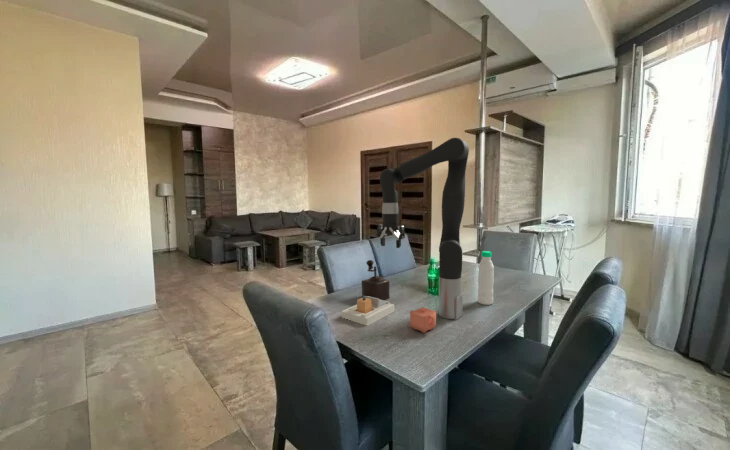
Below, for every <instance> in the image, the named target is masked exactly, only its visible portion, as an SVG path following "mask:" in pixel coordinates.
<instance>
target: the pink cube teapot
mask: <svg viewBox="0 0 730 450" xmlns="http://www.w3.org/2000/svg"><path fill="white" fill-rule="evenodd" d="M409 327H410V328H411V329H413V330H414V331H419V332H421V333H422V334H426V333H427V331H429V330H430V331H432V330H433V328H435V327H437V311H435V310H434V309H433V310H432V309H429V308H426V307H424V306H422V307H420V308H417V309H414V310H410V312H409Z"/></svg>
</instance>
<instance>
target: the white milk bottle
mask: <svg viewBox="0 0 730 450" xmlns="http://www.w3.org/2000/svg"><path fill="white" fill-rule="evenodd" d="M492 255H493V254H492V251H489V250H487V251H486V250H482V251H481V252H480V256H481V260H480V262H479V264H478V265H477V267H478V273H477V303H479V304H480V305H484V306H489V305H492V304H493V303H494V284H495V281H494V279H495V274H494V273H495V272H494V270H495V266H494V263H493V260H491V259H492Z"/></svg>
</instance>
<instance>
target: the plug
mask: <svg viewBox="0 0 730 450" xmlns="http://www.w3.org/2000/svg"><path fill="white" fill-rule="evenodd" d="M356 305H357V311H358V312H361V313H365V314H366V313H368V312H370V311H372V303H371V299H368V298H366V296H363V298H362V297H361V298H358V299H357V300H356Z"/></svg>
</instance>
